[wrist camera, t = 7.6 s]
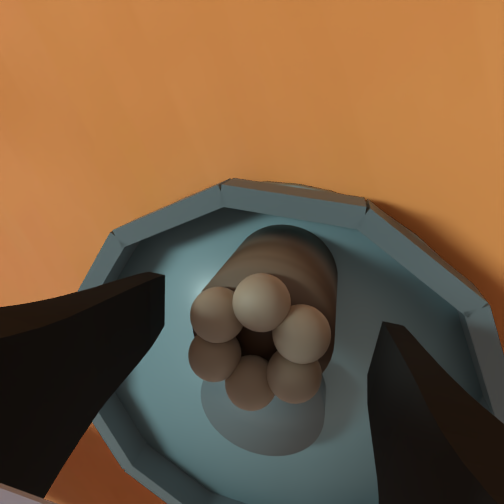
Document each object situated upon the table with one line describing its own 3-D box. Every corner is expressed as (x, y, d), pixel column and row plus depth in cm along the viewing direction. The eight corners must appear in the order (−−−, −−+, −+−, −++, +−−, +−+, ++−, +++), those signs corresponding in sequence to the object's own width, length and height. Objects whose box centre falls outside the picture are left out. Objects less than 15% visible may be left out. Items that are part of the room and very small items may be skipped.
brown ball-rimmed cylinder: (326, 331, 15) (317, 443, 10) (229, 309, 16) (172, 402, 11) (347, 234, 14) (349, 308, 8) (237, 216, 14) (175, 272, 9)
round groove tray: (418, 554, 20) (426, 606, 17) (109, 453, 23) (85, 487, 21) (572, 224, 12) (618, 246, 10) (88, 152, 16) (49, 157, 14)
